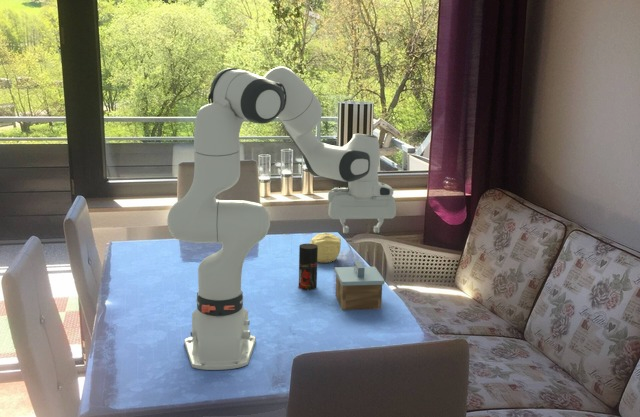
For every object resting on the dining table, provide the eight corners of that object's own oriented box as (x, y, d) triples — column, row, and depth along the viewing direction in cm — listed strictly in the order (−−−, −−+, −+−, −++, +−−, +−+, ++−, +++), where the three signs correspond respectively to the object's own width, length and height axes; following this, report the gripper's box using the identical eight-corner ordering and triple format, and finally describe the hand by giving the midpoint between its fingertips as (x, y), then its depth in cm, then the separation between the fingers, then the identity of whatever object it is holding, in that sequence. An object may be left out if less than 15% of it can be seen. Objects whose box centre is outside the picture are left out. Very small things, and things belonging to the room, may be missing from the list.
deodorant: (320, 289, 211) (321, 246, 207) (307, 294, 206) (308, 250, 203) (307, 285, 215) (308, 242, 211) (294, 289, 210) (295, 245, 207)
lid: (384, 287, 192) (385, 271, 191) (341, 288, 190) (342, 272, 189) (374, 273, 204) (375, 257, 203) (334, 273, 202) (335, 258, 201)
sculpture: (313, 266, 234) (313, 237, 231) (305, 256, 245) (306, 229, 242) (343, 264, 236) (344, 236, 234) (334, 254, 248) (335, 227, 245)
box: (380, 311, 194) (382, 283, 192) (342, 313, 192) (343, 284, 190) (372, 297, 206) (373, 270, 204) (335, 298, 204) (336, 271, 202)
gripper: (330, 190, 185) (328, 236, 189) (398, 190, 188) (396, 234, 192) (326, 185, 192) (325, 229, 195) (393, 185, 194) (390, 229, 198)
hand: (361, 232), depth 193 cm, fingers open, 8 cm apart
